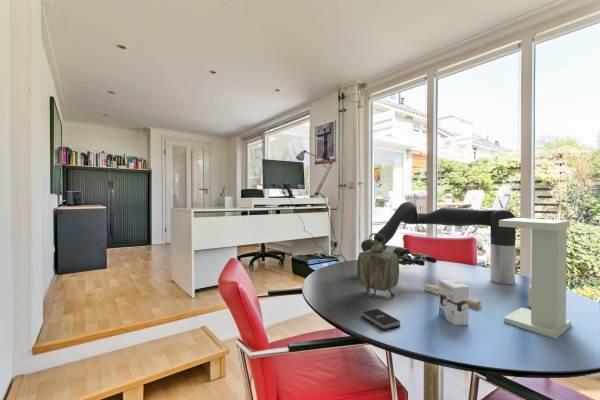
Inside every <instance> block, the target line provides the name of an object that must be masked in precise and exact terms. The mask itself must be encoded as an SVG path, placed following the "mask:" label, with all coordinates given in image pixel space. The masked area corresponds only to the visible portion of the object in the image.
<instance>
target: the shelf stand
mask: <svg viewBox="0 0 600 400" xmlns="http://www.w3.org/2000/svg"><path fill="white" fill-rule="evenodd" d="M570 221H571V220H564V219H563V220H562V219H561V220H560V219H546V218H545V219H543V218H524V217H515V218H512V219H504V220H499V226H501V227H514V228H516V229H527V230H529V229H530V230H531V259H530V260H531V273H530V274H531V275H530V276H531V277H530V279H531V280H530V281H531V282H530V285H531V307H530V308H529V309H528V308H524V307H519V308H518V309H516V310H514V311H512V312H511V313H509V314H507V315H505V316H504V317H503V323H506V324H508V325H512V326H515V327H517V328H521V329H525V330H527V331H530V332H533V333H536V334H540V335H544V336H546V337H549V338H553V339H557V338H558V337H560V336H561V335H562V334H563V333H564V332H566V331H567V330H568V329H570V327H572V320H569V319H567V313H566V312H567V241H568V240H567V238H568V237H567V236H568V235H567V233H568V232H567V231H568V230H567V229H568V228H571V223H570Z"/></svg>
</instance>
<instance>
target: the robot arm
mask: <svg viewBox="0 0 600 400" xmlns="http://www.w3.org/2000/svg"><path fill="white" fill-rule="evenodd" d="M512 218H516V216H515V214H514V213H513V212H512V211H510V210H508V209H506V208H505V209H504V208H502V209H486V210H485V209H484V210H483V209H482V210H481V209H472V208H465V207H453V206H451V207H448V206H445V207H441V208H438V209H436V210H434V211H431V212H427V213H425V212H424V213H421V212H418V208H417V205H416V204H415V203H414V202H413V201H404V202H402V203H401V204H400V205H399V206H398V207H397V209H396V210H395V212H394V213H393V214H392V216H391V217H390V218H389V219H388V221H387V222H386V224H384V226H383V227H382V228H380V230H378V231H377V233H379V234H382V235H383V236H384V237H385V242H384V243H382V244H379V245H381V246H382V247H383V249H384V250H386V251H390V252H393V253H395V254H397V257H398V261H399V265H402V266H406V265H409V266H412V265H418V266H421V267H423V266H425V264H426V263H425V262H428V263H433V264H436V263H437V257H434V256H430V254H427V253H421V252H411V251H410V249H409V248H406V247H401V246H396V245H394V246H393V245H387V244H388V242H389V241H390V240H391V239H393V237H394V236H395V234H396V233H397V231H398V228H399V227H400V225H401V223H402V224H406V225H442V226H451V227H452V226H453V227H455V226H456V227H466V226H486V227H487V226H488V227H490V234H489V235H490V281H491V282H493V283H496V284H499V285H501V284H502V285H514V284H515V283H516V237H517V232H516V230H517V228H514V227H501V226H499V220H504V219H512ZM370 239H371V238H370ZM370 239H369V238H368V239H364V240H363V241H362V242H361V244H360V248H361V250H362V252H364V251H368V250H370V249H371V247H372V246H373V245H375V243H372V242H371V241H370ZM371 240H372V241H374V242H376V240H378V241H379V242H383V241H384V238H383V237H382V236H380V235H373V239H371ZM515 285H516V284H515Z"/></svg>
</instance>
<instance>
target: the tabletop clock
mask: <svg viewBox="0 0 600 400" xmlns="http://www.w3.org/2000/svg"><path fill="white" fill-rule="evenodd" d="M375 235H380V236H382V237H383V238H384V241H383V242H379V241H378V240H376V242H374V241H372V240H373V239H371V238H372V236H375ZM368 239H370V241H371V242H372V243H375V245H373V246H372V247H371V249H370V250H368V251H364V252H363V251H361V252H359V253H358V256H357V266H356V269H357V272H356V273H357V274H356V275H357V276H356V277H357V281H358V284H360V285H361V286H363V287H365V289H366V291H367V292H370V291H371V289H372V290H373V293H372V295H371V296H372V298H374V297H375V298H377V297H378V296H377V291H382V292H385V291H388V292H389V294H390V297H391V298H395V297H396V294H395V293H393V292H392V290H391V289H393V288H395V287H396V286H397V285H398V283H399V280H400V278H399V277H400V264H399V261H398V257H397V254H395V253H393V252H390V251H386V250H384V249H383V247H382V246H381V245H379V244H382V243H384V242H385V237H384V236H383V235H382V234H379V233H378V232H374V233H371V234H370V235H369V237H368Z"/></svg>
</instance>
